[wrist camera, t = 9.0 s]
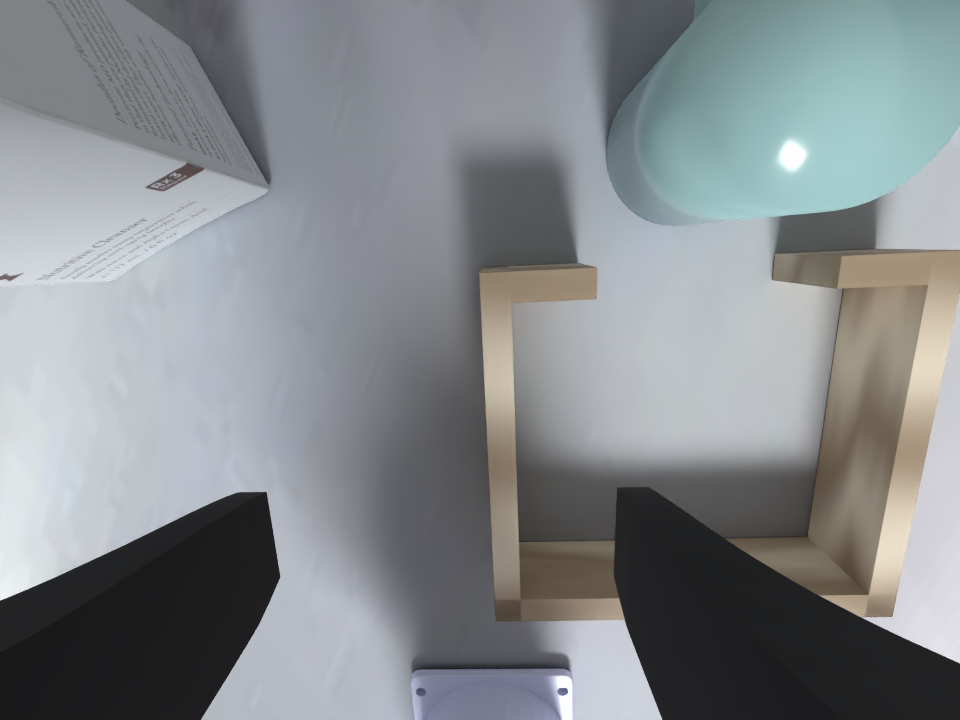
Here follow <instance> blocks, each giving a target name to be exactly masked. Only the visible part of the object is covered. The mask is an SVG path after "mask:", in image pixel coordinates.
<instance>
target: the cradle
mask: <svg viewBox="0 0 960 720" xmlns="http://www.w3.org/2000/svg"><path fill="white" fill-rule="evenodd" d="M479 280H480V301H481V322H482V343H483V364H484V385H485V406H486V426H487V447H488V468H489V489H490V510H491V531H492V552H493V573H494V594H495V615H496V621H568V620H625V618H624V615H623V611H622V607H621V604H620V600H619V595H618V591H617V587H616V583H615V579H614V553H615V540H613V541H562V542H519V532H518V500H517V468H516V436H515V404H514V372H513V340H512V308H511V303H520V302H543V301H566V300H589V299H597V267H593V266H588V265H584V264H580V263H568V264H547V265H525V266H504V267H483V268H482V269H481V271H480V273H479ZM772 280H776V281H783V282H791V283H798V284H806V285H813V286H821V287H828V288H836V289H842V288H844V290H843V297H842V304H841V311H840V318H839V325H838V331H837V338H836V345H835V352H834V359H833V366H832V372H831V379H830V386H829V393H828V400H827V407H826V413H825V420H824V427H823V434H822V441H821V448H820V455H819V461H818V468H817V475H816V482H815V489H814V496H813V502H812V509H811V516H810V523H809V530H808V537H768V538H724V539H726V540H727V541H729V542H730V543H732V544H734V545H735V546H737V547H738V548H740V549H741V550H743V551H744V552H746V553H748V554H749V555H751V556H752V557H754V558H756V559H757V560H759V561H761V562H762V563H764V564H765V565H767V566H769V567H770V568H772V569H774V570H775V571H777V572H779V573H780V574H782V575H784V576H785V577H787V578H789V579H790V580H792V581H794V582H796V583H797V584H799V585H801V586H803V587H805V588H806V589H808V590H810V591H812V592H813V593H815V594H817V595H819V596H821V597H823V598H825V599H827V600H829V601H831V602H832V603H834V604H836V605H838V606H840V607H842V608H844V609H846V610H848V611H850V612H852V613H854V614H855V615H857V616H859V617H892V616H893V611H894V606H895V601H896V596H897V592H898V587H899V582H900V577H901V572H902V568H903V563H904V558H905V553H906V548H907V544H908V539H909V534H910V529H911V524H912V520H913V515H914V510H915V505H916V500H917V496H918V491H919V486H920V481H921V477H922V472H923V467H924V462H925V457H926V453H927V448H928V443H929V438H930V433H931V429H932V424H933V419H934V414H935V409H936V405H937V400H938V395H939V390H940V385H941V381H942V376H943V371H944V366H945V361H946V357H947V352H948V347H949V342H950V337H951V333H952V328H953V323H954V318H955V313H956V309H957V304H958V299H959V294H960V250H917V249H864V250H843V251H822V252H800V253H779V254H775V260H774V269H773V278H772Z"/></svg>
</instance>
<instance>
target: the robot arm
mask: <svg viewBox="0 0 960 720" xmlns="http://www.w3.org/2000/svg"><path fill="white" fill-rule="evenodd" d="M279 579H280V572H279V566H278V560H277V554H276V548H275V541H274V535H273V529H272V523H271V517H270V511H269V504H268V498H267V492H240V493H235V494H233V495H230V496H227V497H225V498H222V499H220V500H217V501H215V502H213V503H211V504H208V505H206V506H204V507H202V508H200V509H198V510H196V511H194V512H191V513H189V514H187V515H185V516H183V517H181V518H179V519H177V520H175V521H173V522H171V523H169V524H167V525H165V526H163V527H161V528H159V529H157V530H155V531H153V532H151V533H149V534H147V535H145V536H143V537H141V538H138V539H136V540H134V541H132V542H130V543H128V544H126V545H124V546H122V547H120V548H118V549H116V550H113V551H111V552H109V553H107V554H105V555H103V556H101V557H98V558H96V559H94V560H92V561H90V562H88V563H85V564H83V565H81V566H79V567H77V568H75V569H72V570H70V571H68V572H66V573H64V574H62V575H60V576H57V577H55V578H53V579H51V580H48V581H46V582H44V583H42V584H39V585H37V586H35V587H32V588H30V589H28V590H25V591H23V592H20V593H18V594H16V595H13V596H11V597H8V598H6V599H3V600H1V601H0V720H201V719H202V717H203V715H204V714H205V712H206V710H207V709H208V707H209V706H210V704H211V702H212V701H213V699H214V697H215V696H216V694H217V693H218V691H219V689H220V688H221V686H222V685H223V683H224V681H225V680H226V678H227V677H228V675H229V673H230V672H231V670H232V668H233V667H234V665H235V664H236V662H237V660H238V659H239V657H240V655H241V654H242V652H243V650H244V649H245V647H246V645H247V644H248V642H249V640H250V639H251V637H252V635H253V634H254V632H255V630H256V629H257V627H258V625H259V623H260V621H261V619H262V617H263V615H264V613H265V610H266V608H267V606H268V604H269V602H270V600H271V597H272V595H273V593H274V590H275V588H276V586H277V583H278V581H279ZM614 579H615V583H616V587H617V591H618V595H619V600H620V604H621V607H622V611H623V615H624V618H625V622H626V626H627V629H628V631H629V634H630V637H631V639H632V642H633V645H634V647H635V650H636V652H637V655H638V658H639V660H640V663H641V665H642V668H643V671H644V673H645V676H646V678H647V681H648V684H649V686H650V689H651V691H652V694H653V696H654V699H655V702H656V704H657V707H658V709H659V712H660V714H661V717H662V720H960V663H957V662H955V661H953V660H951V659H949V658H946V657H944V656H942V655H940V654H937V653H935V652H933V651H931V650H929V649H926V648H924V647H922V646H920V645H918V644H915V643H913V642H911V641H909V640H906V639H904V638H902V637H900V636H898V635H896V634H894V633H892V632H890V631H888V630H885V629H883V628H881V627H879V626H877V625H875V624H873V623H871V622H869V621H867V620H865V619H863V618H861V617H859V616H857V615H855V614H854V613H852V612H850V611H848V610H846V609H844V608H842V607H840V606H838V605H836V604H834V603H832V602H831V601H829V600H827V599H825V598H823V597H821V596H819V595H817V594H815V593H813V592H812V591H810V590H808V589H806V588H805V587H803V586H801V585H799V584H797V583H796V582H794V581H792V580H790V579H789V578H787V577H785V576H784V575H782V574H780V573H779V572H777V571H775V570H774V569H772V568H770V567H769V566H767V565H765V564H764V563H762V562H761V561H759V560H757V559H756V558H754V557H752V556H751V555H749V554H748V553H746V552H744V551H743V550H741V549H740V548H738V547H737V546H735V545H734V544H732V543H730V542H729V541H727V540H726V539H724V538H723V537H721V536H720V535H718V534H717V533H715V532H714V531H712V530H711V529H709V528H708V527H707V526H705V525H704V524H702V523H701V522H699V521H698V520H696V519H695V518H693V517H692V516H691V515H689V514H688V513H686V512H685V511H683V510H682V509H681V508H679V507H678V506H676V505H675V504H673V503H672V502H670V501H669V500H667V499H666V498H665V497H663V496H662V495H660V494H658V493H657V492H655V491H654V490H652V489H650V488H648V487H628V488H617V503H616V528H615V553H614ZM410 685H411V694H412V704H413V713H414V720H573V679H572V675H571V673H570V672H569V671H568V670H566V669H435V670H416V671H415V672H413V674H412V676H411V682H410ZM562 687H564V688H562ZM421 688H423V689H421Z"/></svg>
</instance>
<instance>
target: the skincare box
mask: <svg viewBox="0 0 960 720" xmlns="http://www.w3.org/2000/svg"><path fill="white" fill-rule="evenodd" d="M269 190H270V188H269V185H268V183H267V182H266V180H265V178H264V177H263V175H262V173H261V171H260V169H259V168H258V166H257V164H256V162H255V160H254V159H253V157H252V155H251V153H250V152H249V150H248V148H247V147H246V145H245V143H244V141H243V139H242V138H241V136H240V134H239V132H238V130H237V128H236V127H235V125H234V123H233V122H232V120H231V118H230V116H229V114H228V113H227V111H226V109H225V107H224V106H223V104H222V102H221V100H220V98H219V97H218V95H217V93H216V91H215V89H214V88H213V86H212V84H211V82H210V81H209V79H208V77H207V75H206V74H205V72H204V70H203V68H202V66H201V65H200V63H199V61H198V59H197V57H196V56H195V54H194V52H193V51H192V49H191V48H190V46H189V45H188V44H186V43H185V42H183V41H182V40H181V39H179V38H178V37H176V36H175V35H174V34H172V33H171V32H169V31H168V30H167V29H165V28H164V27H162V26H161V25H160V24H158V23H157V22H155V21H154V20H153V19H151V18H150V17H149V16H147V15H146V14H144V13H143V12H142V11H140V10H139V9H137V8H136V7H135V6H133V5H132V4H130V3H129V2H128V1H126V0H0V287H15V286H37V285H58V284H76V283H100V282H107V281H114V280H116V279H117V278H119V277H120V276H121V275H123V274H124V273H126V272H127V271H128V270H130V269H131V268H132V267H133V266H135V265H137V264H138V263H140V262H141V261H143V260H145V259H146V258H148V257H149V256H151V255H153V254H154V253H156V252H158V251H159V250H161V249H163V248H164V247H166V246H168V245H169V244H171V243H172V242H174V241H176V240H178V239H180V238H181V237H183V236H185V235H187V234H188V233H190V232H192V231H194V230H195V229H197V228H199V227H201V226H203V225H204V224H206V223H208V222H210V221H212V220H214V219H216V218H218V217H220V216H222V215H224V214H226V213H228V212H230V211H232V210H234V209H236V208H238V207H240V206H242V205H244V204H246V203H248V202H251V201H253V200H255V199H257V198H259V197H261V196H262V195H264V194H266V193H267V192H268V191H269Z"/></svg>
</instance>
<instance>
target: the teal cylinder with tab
mask: <svg viewBox="0 0 960 720" xmlns="http://www.w3.org/2000/svg"><path fill="white" fill-rule="evenodd" d="M959 126H960V0H695V7H694V17H693V23H692V24H691V25H690V26H689V27H688V28H687V29H686V31H685V32H684V33H683V34H682V35H681V36H680V37H679V38H678V39H677V41H676V42H675V43H674V44H673V45H672V46H671V47H670V48H669V50H668V51H667V52H666V53H665V54H664V55H663V56H662V57H661V59H660V60H659V61H658V62H657V63H656V64H655V65H654V66H653V67H652V69H651V70H650V71H649V72H648V73H647V74H646V75H645V76H644V78H643V79H642V80H641V81H640V82H639V83H638V84H637V85H636V86H635V88H634V89H633V90H632V91H631V92H630V93H629V94H628V96H627V97H626V98H625V99H624V101H623V102H622V104H621V105H620V107H619V109H618V111H617V113H616V115H615V116H614V119H613V122H612V124H611V127H610V131H609V135H608V139H607V148H606V160H607V168H608V173H609V177H610V180H611V182H612V185H613V187H614V189H615V191H616V193H617V195H618V196H619V198H620V199H621V200H622V202H623V203H624V204H625V205H626V206H627V207H628V208H629V209H630V210H631V211H632V212H634V213H635V214H636V215H638V216H639V217H641V218H643V219H645V220H647V221H650V222H652V223H655V224H660V225H665V226H683V225H693V224H704V223H714V222H724V221H735V220H745V219H755V218H766V217H776V216H786V215H797V214H807V213H818V212H828V211H836V210H841V209H846V208H851V207H855V206H858V205H861V204H864V203H867V202H870V201H872V200H874V199H876V198H879V197H881V196H883V195H885V194H887V193H889V192H891V191H892V190H894V189H896V188H897V187H899V186H900V185H902V184H904V183H905V182H906V181H908V180H909V179H910V178H912V177H913V176H914V175H916V174H917V173H918V172H920V171H921V170H922V169H923V168H924V167H925V166H926V165H927V164H928V163H929V162H930V161H931V160H932V159H933V158H935V157H936V155H937V154H938V153H939V152H940V151H941V150H942V148H943V147H944V146H945V145H946V144H947V143H948V141H949V140H950V139H951V137H952V136H953V134H954V133H955V132H956V130H957V129H958V127H959Z"/></svg>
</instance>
